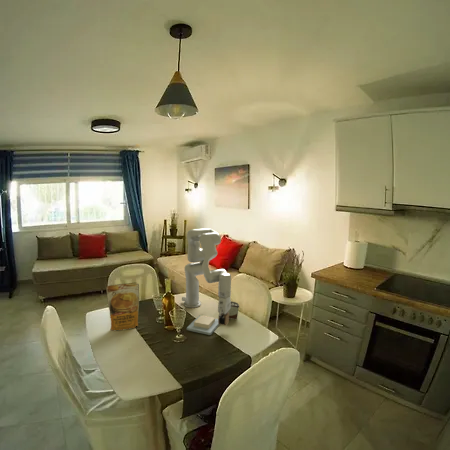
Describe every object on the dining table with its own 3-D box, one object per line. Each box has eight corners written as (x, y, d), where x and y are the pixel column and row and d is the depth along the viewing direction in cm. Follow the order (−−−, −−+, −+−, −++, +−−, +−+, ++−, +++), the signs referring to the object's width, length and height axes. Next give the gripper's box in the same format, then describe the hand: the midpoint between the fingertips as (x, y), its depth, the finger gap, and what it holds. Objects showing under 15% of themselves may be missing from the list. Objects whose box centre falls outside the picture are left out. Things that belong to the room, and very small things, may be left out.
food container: (239, 315, 198) (240, 301, 196) (239, 319, 192) (239, 305, 190) (221, 314, 199) (222, 300, 198) (220, 318, 193) (221, 304, 192)
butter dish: (186, 330, 177) (186, 323, 177) (199, 317, 194) (199, 311, 193) (210, 335, 172) (210, 328, 171) (221, 321, 188) (221, 316, 188)
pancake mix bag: (108, 327, 179) (106, 284, 175) (140, 322, 186) (138, 281, 181) (107, 332, 173) (105, 288, 169) (140, 327, 179) (139, 284, 175)
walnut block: (218, 323, 174) (218, 314, 173) (221, 320, 179) (221, 311, 178) (226, 325, 172) (226, 316, 172) (228, 321, 177) (229, 312, 176)
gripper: (225, 299, 163) (224, 329, 166) (234, 289, 179) (234, 316, 182) (213, 297, 166) (212, 326, 169) (223, 287, 182) (222, 314, 185)
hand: (223, 321), depth 176 cm, fingers closed on walnut block, 5 cm apart
